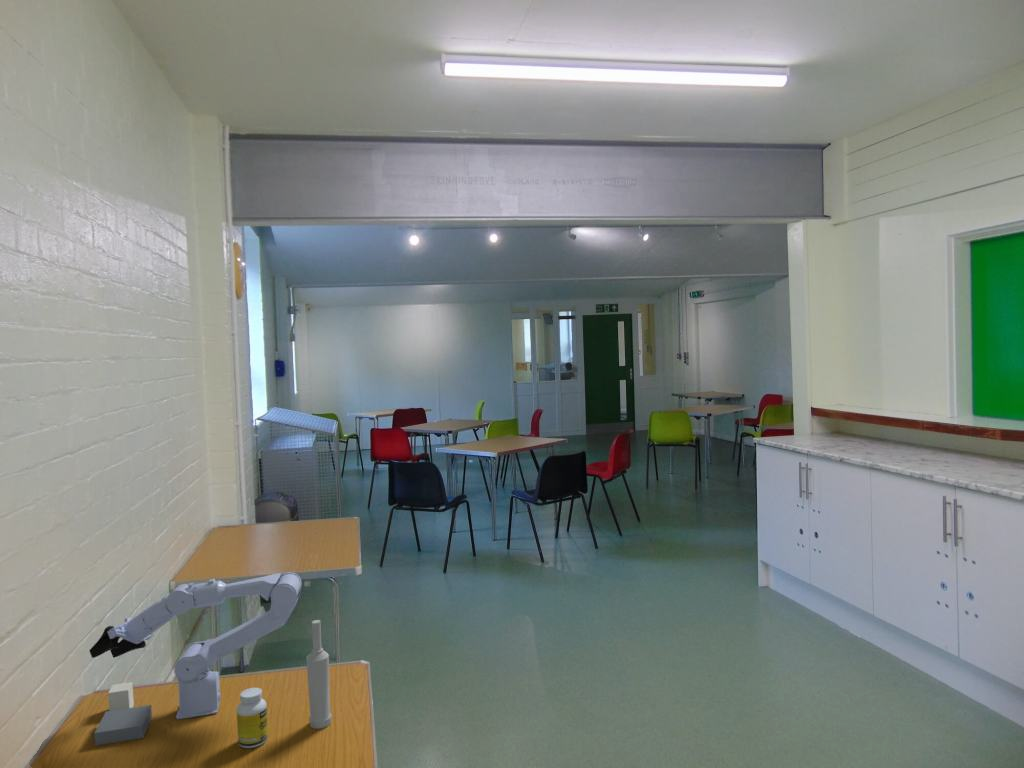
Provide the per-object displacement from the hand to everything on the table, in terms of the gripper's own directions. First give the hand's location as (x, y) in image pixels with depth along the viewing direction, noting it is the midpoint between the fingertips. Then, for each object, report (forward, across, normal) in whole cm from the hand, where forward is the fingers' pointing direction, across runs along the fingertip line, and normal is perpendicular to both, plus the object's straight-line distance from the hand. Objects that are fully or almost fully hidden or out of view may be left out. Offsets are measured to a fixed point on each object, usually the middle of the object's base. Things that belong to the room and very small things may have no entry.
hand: (102, 654), depth 175 cm
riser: (+3, -2, +18) cm, 19 cm away
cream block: (+7, -10, +11) cm, 17 cm away
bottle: (-35, -9, +44) cm, 57 cm away
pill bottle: (-23, -1, +39) cm, 45 cm away
